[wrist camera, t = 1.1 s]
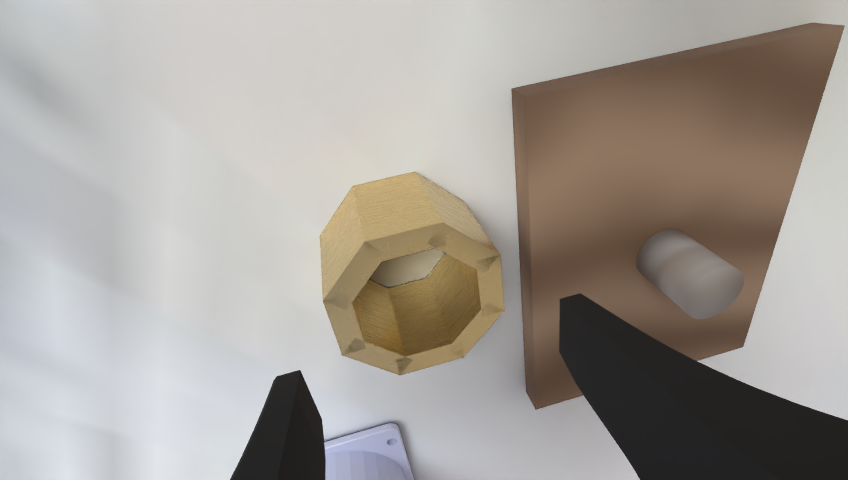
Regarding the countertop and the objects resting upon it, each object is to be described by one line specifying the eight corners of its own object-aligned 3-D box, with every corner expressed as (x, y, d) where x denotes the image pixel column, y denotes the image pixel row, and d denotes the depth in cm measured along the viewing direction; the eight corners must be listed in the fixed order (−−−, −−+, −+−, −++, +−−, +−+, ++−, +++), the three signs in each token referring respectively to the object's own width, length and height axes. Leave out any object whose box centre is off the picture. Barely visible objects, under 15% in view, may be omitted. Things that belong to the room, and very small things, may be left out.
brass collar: (472, 281, 19) (507, 344, 16) (345, 315, 19) (353, 388, 15) (458, 161, 16) (496, 208, 13) (307, 197, 16) (306, 256, 12)
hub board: (725, 332, 25) (793, 389, 22) (526, 391, 24) (563, 462, 20) (812, 22, 17) (946, 34, 13) (511, 88, 16) (571, 121, 12)
